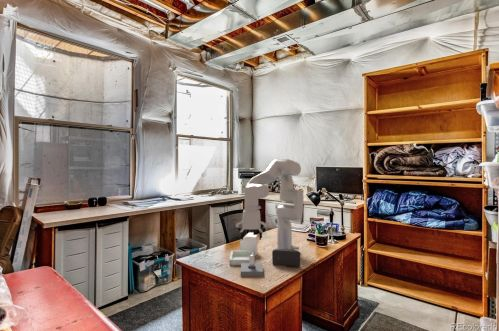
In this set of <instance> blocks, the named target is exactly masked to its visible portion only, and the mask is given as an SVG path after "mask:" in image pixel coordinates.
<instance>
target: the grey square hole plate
mask: <svg viewBox="0 0 499 331" xmlns="http://www.w3.org/2000/svg"><path fill="white" fill-rule="evenodd" d="M263 265H264V264H263V262H255V269H249V263H241V265H240V277H264V267H263Z"/></svg>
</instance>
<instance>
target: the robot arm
mask: <svg viewBox="0 0 499 331" xmlns="http://www.w3.org/2000/svg"><path fill="white" fill-rule="evenodd" d="M301 172H302V167H301V165H300V163H299V162H296V161H294V160H291V159H287V158H285V159H284V158H282V159H280V158H279V159H278V158H277V159H274V160H272V161H271V162H270V164H268V166H267V168H266V169H264V171H263V172H261V173H259V174H257V175H255V176H253V177H252V178H251V179H250V180H249V181H248V182H247V183H246V185H245V187H244V209H243V211H242V216H241V217H242V218H241V219H242V220H240V221H239V222H236V223H235V227H236V228H237V231H239V233H240V238H241V240H243V238H244V231H245V230H258V231H259V232H258V233H259V234H258V235H259V236H258V237H259V238H258V239H259V240H260V241H261V240H262V238H263V232H264V231H266V229H267V227H268V223H266V222H264V221H261V211H260V209H262V206H260V205H259V199H265V198H267V197H268V196H269V194H270V188H269V187H268V185H269V184H272V183H274V182H275V181H276V180H277V179H278V177H279V179H280V191H279V200H280V201H281V203H286V204H279V205H278V206H277V207H276V210H275V214H276V215H275V216H276V222H277V229H276V230H277V237H276V238H277V242H276V244H277V247H276V248H275V249H292V250H297V251H299V250H300V248H299V247H300V246H297V245H293V244H292V243H293V241H292V239H293V237H292V236H293V234H292V233H293V231H292V228H293V225H292V223H291V221H295V222H299V221H301V220H302V217H303V212H304V211H303V208H304V197H305V196H304V192H303V191H302V190H301V189H295V188H294V180H293V177H292V176H295V177H296V176H297V177H298V176H299V175H300V173H301ZM290 204H291V205H290ZM292 204H294V205H292ZM240 225H241V227H240ZM261 225H262V226H263V227H262V228H261Z"/></svg>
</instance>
